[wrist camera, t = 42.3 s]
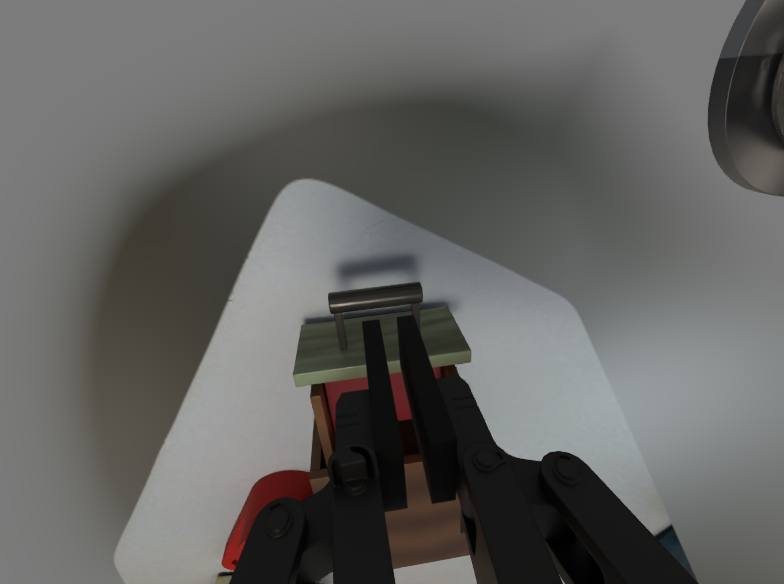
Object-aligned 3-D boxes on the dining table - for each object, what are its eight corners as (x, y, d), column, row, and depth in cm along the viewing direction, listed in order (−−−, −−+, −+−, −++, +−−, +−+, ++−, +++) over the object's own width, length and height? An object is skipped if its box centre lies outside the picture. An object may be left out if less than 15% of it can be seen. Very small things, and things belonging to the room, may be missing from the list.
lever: (277, 460, 42) (267, 518, 36) (343, 486, 45) (343, 543, 39) (200, 541, 47) (180, 604, 41) (264, 559, 50) (254, 619, 44)
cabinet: (315, 404, 39) (309, 480, 31) (450, 384, 40) (477, 453, 32) (337, 500, 46) (336, 579, 39) (449, 481, 48) (471, 554, 40)
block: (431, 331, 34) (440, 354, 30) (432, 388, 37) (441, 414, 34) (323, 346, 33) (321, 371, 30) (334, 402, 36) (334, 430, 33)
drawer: (290, 275, 30) (277, 317, 24) (447, 256, 31) (473, 293, 25) (327, 442, 40) (325, 502, 34) (447, 423, 41) (466, 479, 35)
